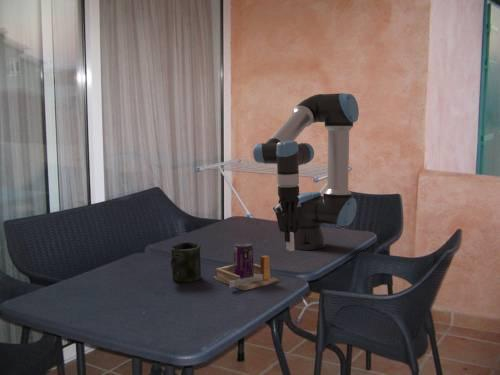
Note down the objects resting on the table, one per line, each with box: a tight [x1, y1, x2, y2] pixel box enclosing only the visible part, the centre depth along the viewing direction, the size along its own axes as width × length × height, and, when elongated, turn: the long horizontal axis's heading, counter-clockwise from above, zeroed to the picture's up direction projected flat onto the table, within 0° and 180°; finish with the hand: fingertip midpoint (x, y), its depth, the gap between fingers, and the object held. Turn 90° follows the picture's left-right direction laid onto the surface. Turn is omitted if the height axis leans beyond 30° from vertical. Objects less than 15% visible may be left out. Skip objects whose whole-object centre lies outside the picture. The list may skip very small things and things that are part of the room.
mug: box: [169, 241, 202, 283], centre depth 214 cm, size 11×15×12 cm
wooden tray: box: [213, 263, 279, 291], centre depth 212 cm, size 15×18×4 cm
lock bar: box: [228, 255, 271, 289], centre depth 205 cm, size 16×2×8 cm, turn 127°
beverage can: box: [232, 241, 255, 279], centre depth 212 cm, size 7×7×12 cm
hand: (290, 250), depth 216 cm, fingers closed
